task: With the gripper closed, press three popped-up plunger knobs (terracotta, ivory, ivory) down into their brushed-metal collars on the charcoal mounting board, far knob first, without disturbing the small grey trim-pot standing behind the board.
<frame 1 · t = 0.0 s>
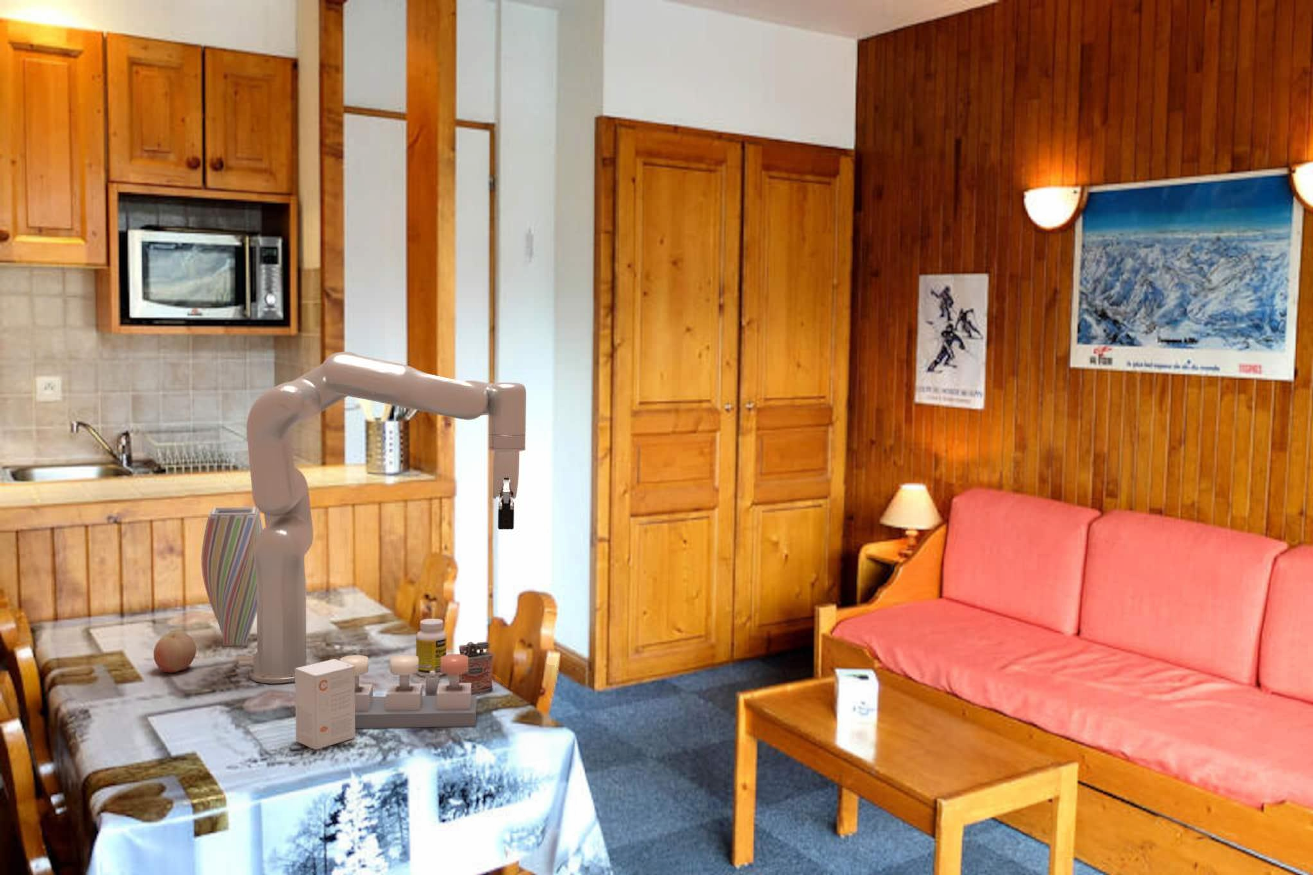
hand: (505, 525, 236), 31 cm above the table, fingers open, 9 cm apart
knob mid: (404, 672, 209), point 9 cm above the table, slide at 0.0 cm
small box: (325, 740, 197), on the table
mount board: (404, 718, 209), on the table
lighter: (472, 693, 225), on the table
knob near: (354, 673, 207), point 9 cm above the table, slide at 0.0 cm
pill bottle: (431, 674, 237), on the table
knob far: (454, 672, 210), point 9 cm above the table, slide at 0.0 cm
vase: (235, 643, 256), on the table
fruit: (175, 671, 234), on the table
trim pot: (432, 702, 218), on the table
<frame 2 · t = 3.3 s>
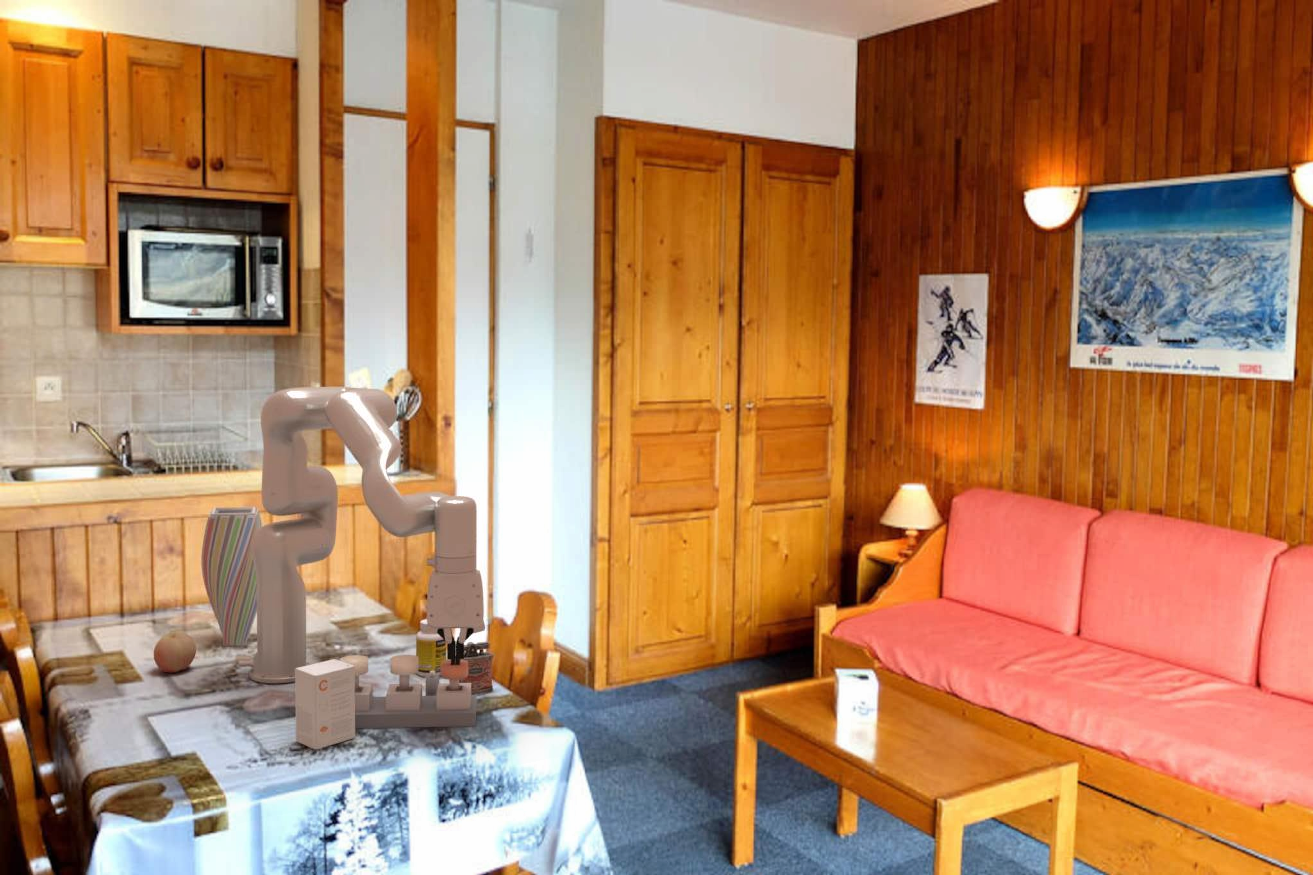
hand: (455, 662, 209), 10 cm above the table, fingers closed
knob far: (454, 677, 210), point 8 cm above the table, slide at 0.9 cm, touching gripper
everything else where it was.
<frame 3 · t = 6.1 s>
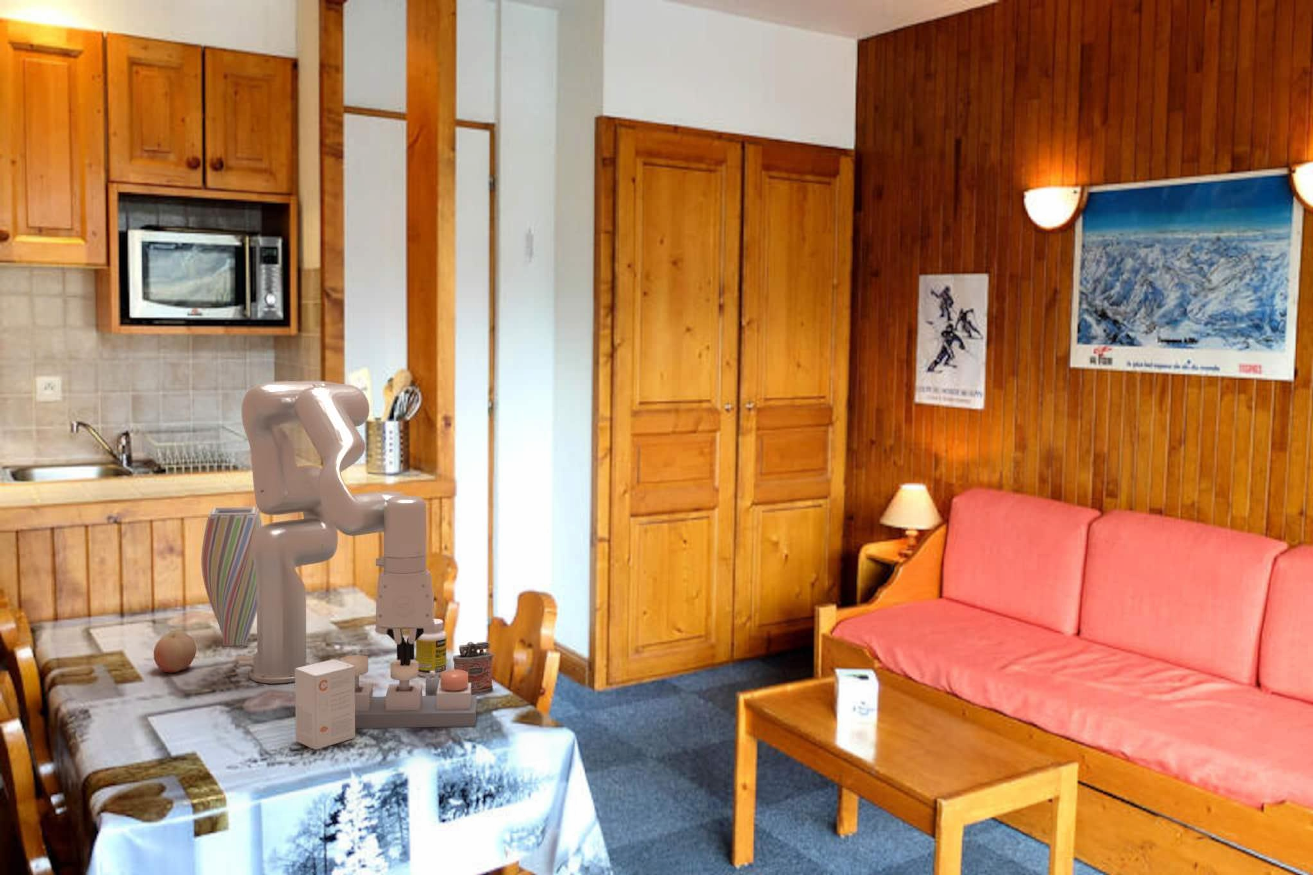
hand: (405, 663, 208), 10 cm above the table, fingers closed
knob mid: (404, 677, 209), point 8 cm above the table, slide at 0.9 cm, touching gripper
knob far: (454, 687, 210), point 6 cm above the table, slide at 2.9 cm
everything else where it was.
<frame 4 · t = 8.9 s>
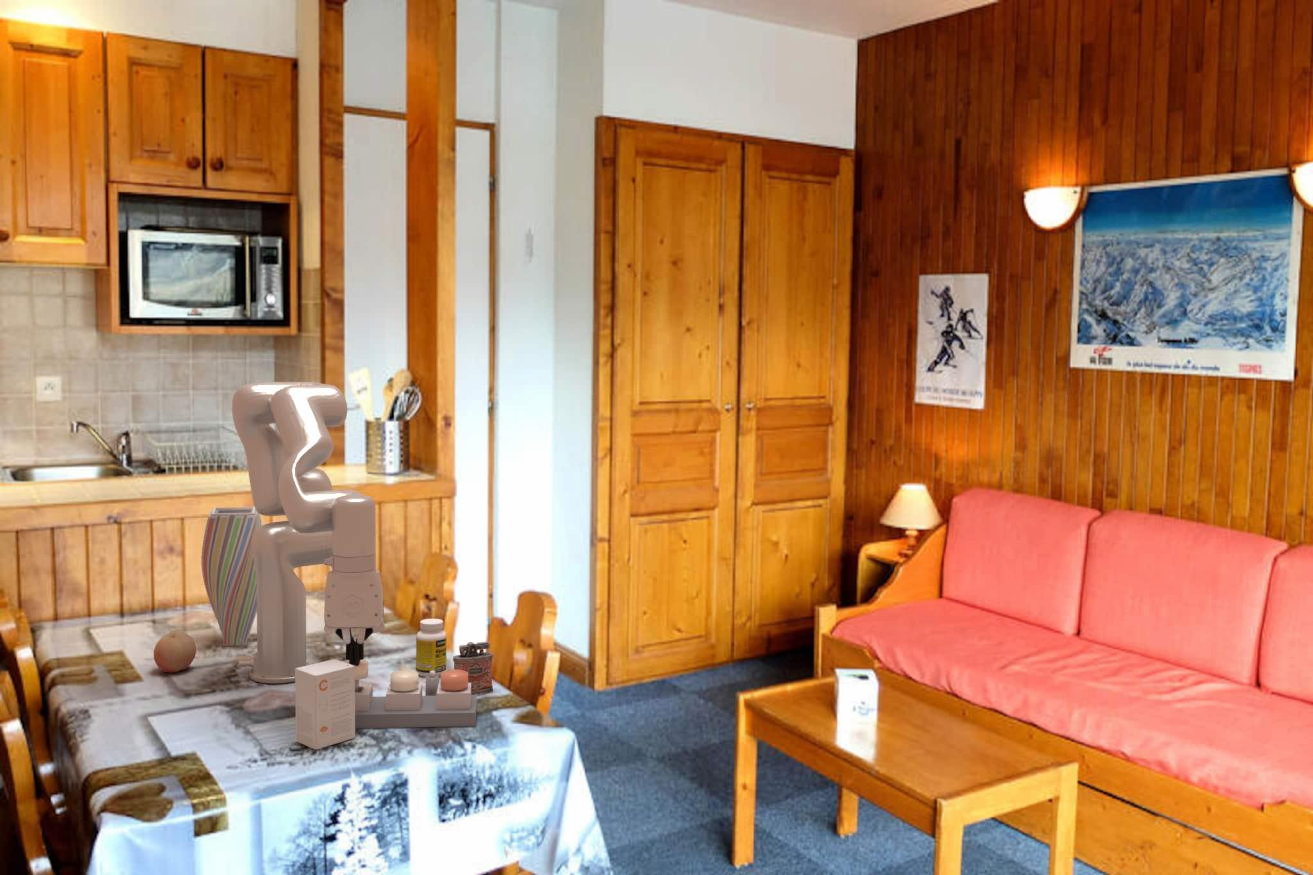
hand: (354, 663, 207), 10 cm above the table, fingers closed
knob mid: (404, 688, 209), point 6 cm above the table, slide at 3.0 cm
knob near: (354, 677, 207), point 8 cm above the table, slide at 0.8 cm, touching gripper
everything else where it was.
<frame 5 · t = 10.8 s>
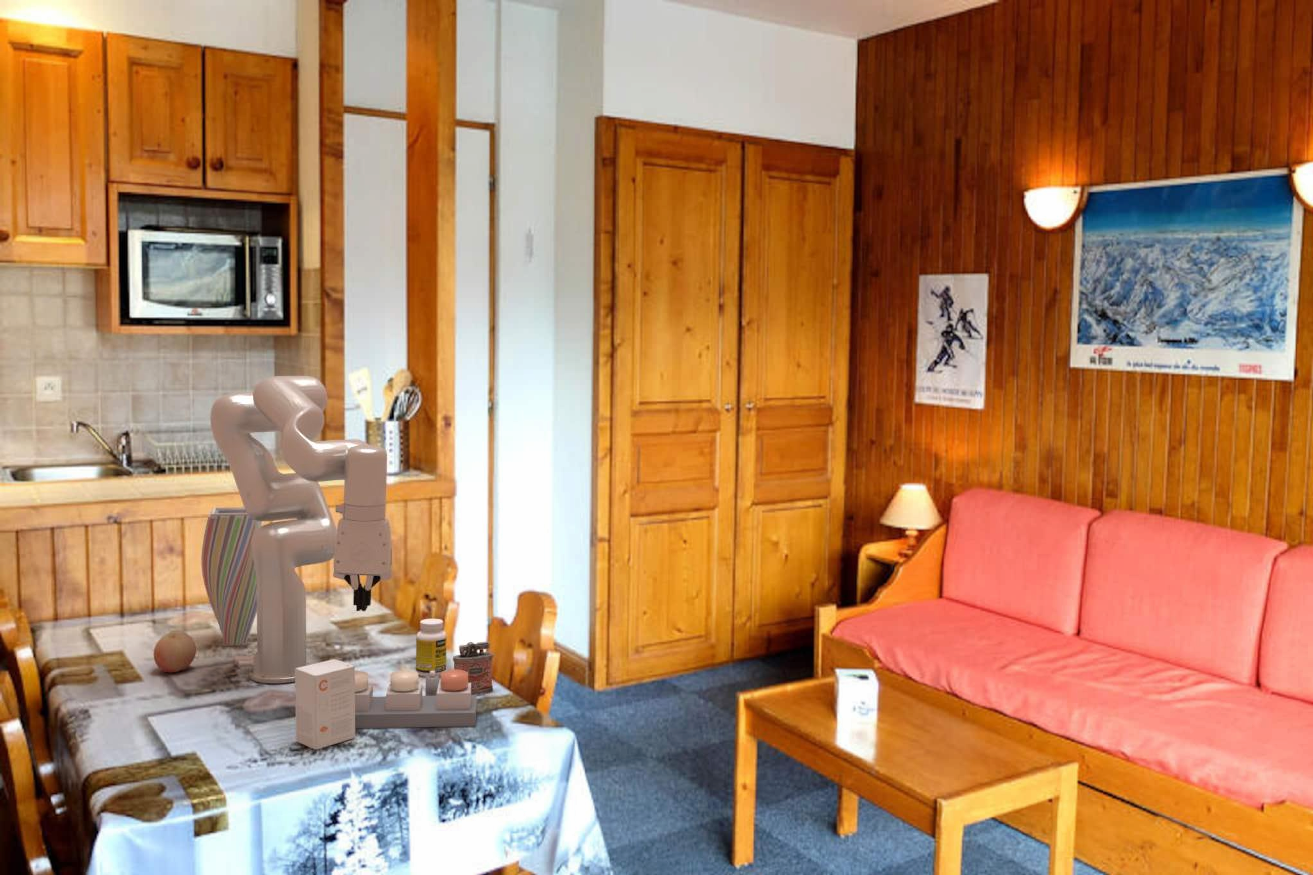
hand: (361, 609, 213), 19 cm above the table, fingers closed
knob near: (354, 689, 208), point 6 cm above the table, slide at 3.0 cm
everything else where it was.
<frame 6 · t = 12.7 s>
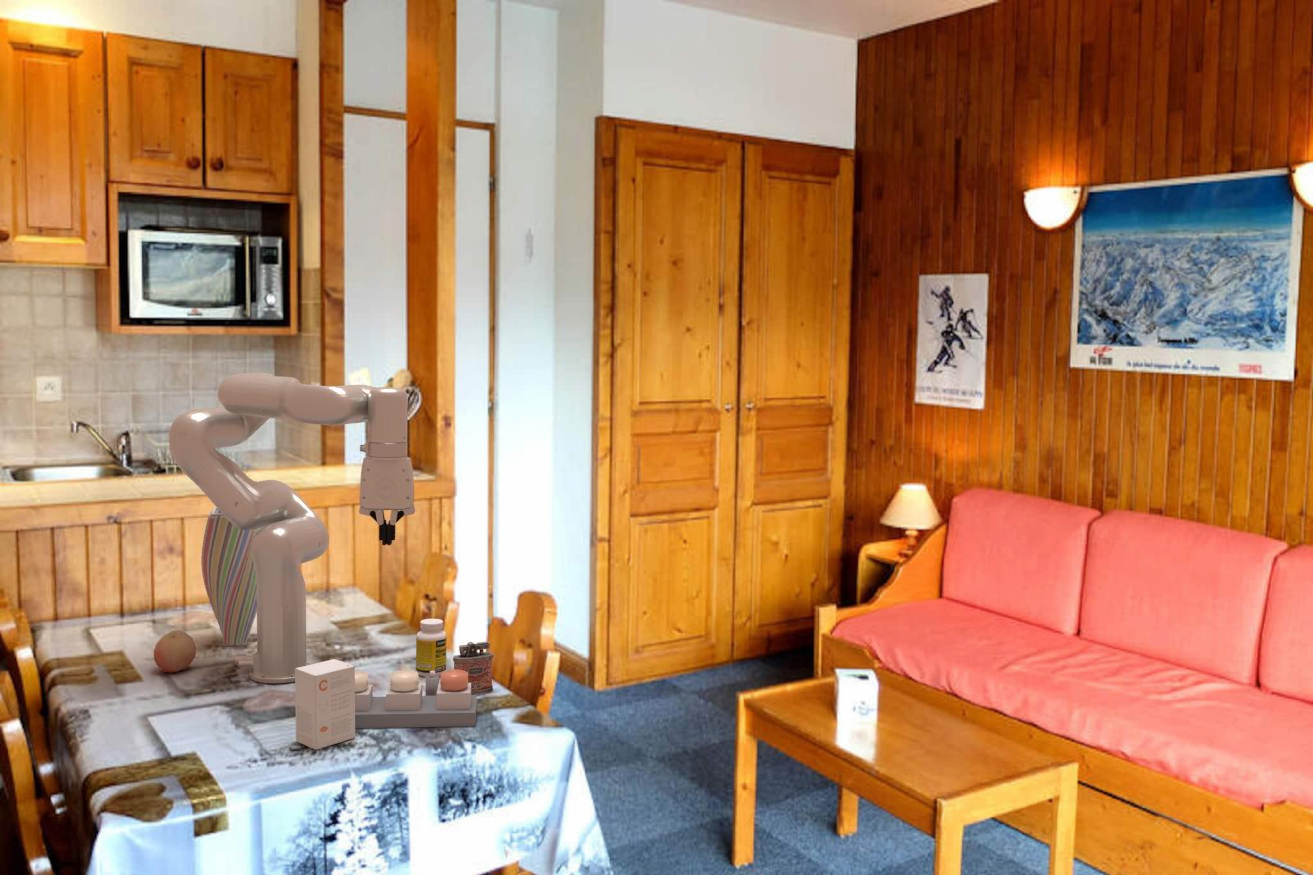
hand: (387, 543, 223), 29 cm above the table, fingers closed
nothing on the table moved.
at the end: knob far slide at 2.9 cm; knob mid slide at 3.0 cm; knob near slide at 3.0 cm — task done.
